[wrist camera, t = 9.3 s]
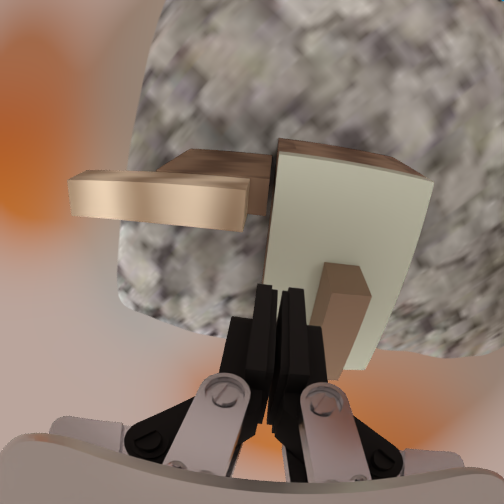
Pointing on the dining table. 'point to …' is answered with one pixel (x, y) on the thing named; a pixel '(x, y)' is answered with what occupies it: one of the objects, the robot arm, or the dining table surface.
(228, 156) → the brown wooden box
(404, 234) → the lid
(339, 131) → the dining table surface
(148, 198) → the bar
